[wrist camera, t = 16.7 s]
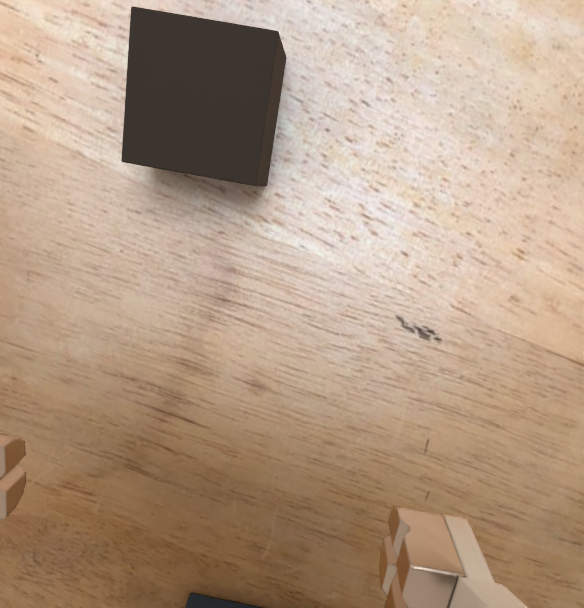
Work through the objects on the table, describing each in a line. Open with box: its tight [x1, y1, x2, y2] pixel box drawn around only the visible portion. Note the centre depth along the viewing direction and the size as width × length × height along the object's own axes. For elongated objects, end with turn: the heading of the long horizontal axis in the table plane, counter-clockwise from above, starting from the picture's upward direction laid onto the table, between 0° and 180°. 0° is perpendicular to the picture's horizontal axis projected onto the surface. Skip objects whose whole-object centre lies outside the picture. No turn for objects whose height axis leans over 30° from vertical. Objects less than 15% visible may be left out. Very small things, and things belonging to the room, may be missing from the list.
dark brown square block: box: [122, 7, 286, 186], centre depth 20 cm, size 6×6×4 cm
